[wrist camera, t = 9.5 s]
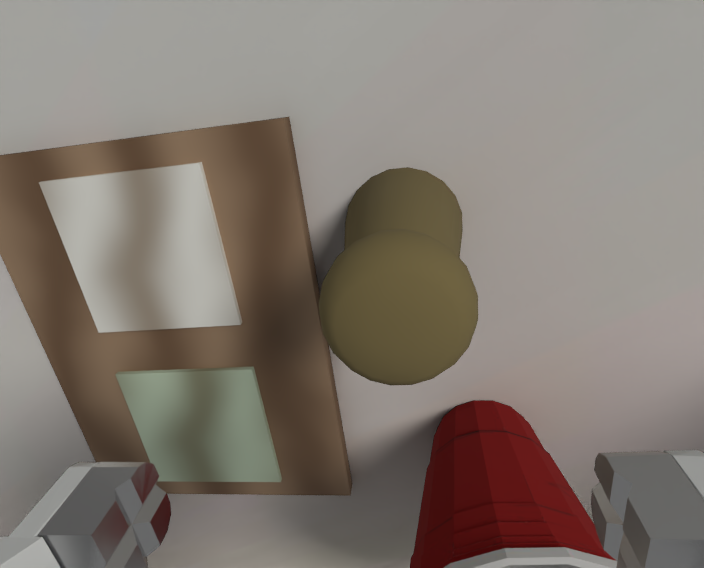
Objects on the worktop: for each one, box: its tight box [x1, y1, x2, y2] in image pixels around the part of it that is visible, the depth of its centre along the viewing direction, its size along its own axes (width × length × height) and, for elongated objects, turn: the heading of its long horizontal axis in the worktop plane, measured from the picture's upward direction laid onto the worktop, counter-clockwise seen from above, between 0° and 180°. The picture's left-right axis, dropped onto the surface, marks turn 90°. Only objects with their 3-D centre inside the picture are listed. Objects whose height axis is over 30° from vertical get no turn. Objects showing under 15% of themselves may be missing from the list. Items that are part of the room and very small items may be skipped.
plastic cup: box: [410, 401, 617, 568], centre depth 23 cm, size 11×11×12 cm
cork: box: [319, 168, 478, 385], centre depth 18 cm, size 6×6×11 cm
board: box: [0, 117, 352, 495], centre depth 27 cm, size 18×24×1 cm
